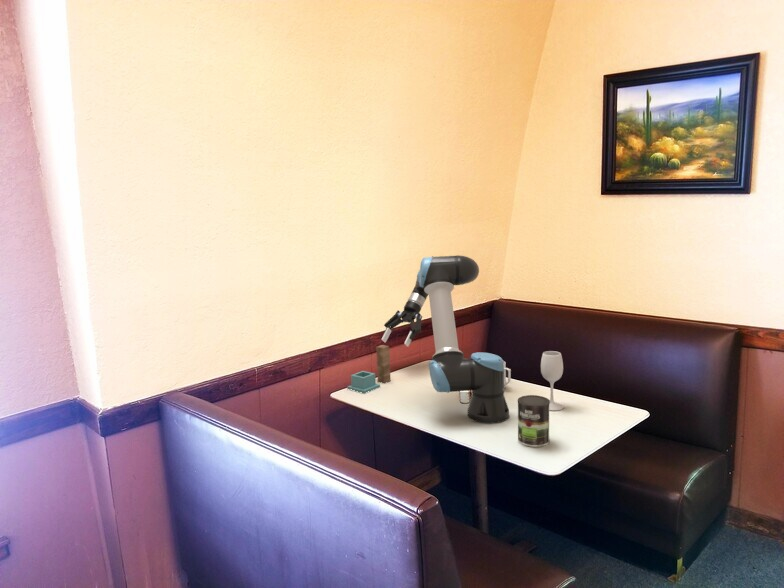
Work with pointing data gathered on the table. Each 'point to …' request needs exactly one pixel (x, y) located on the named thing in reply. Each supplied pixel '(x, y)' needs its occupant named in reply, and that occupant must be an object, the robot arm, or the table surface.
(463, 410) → the table surface
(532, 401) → the coffee can
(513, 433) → the table surface
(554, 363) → the wineglass
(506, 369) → the mug
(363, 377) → the teal square socket
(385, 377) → the post
